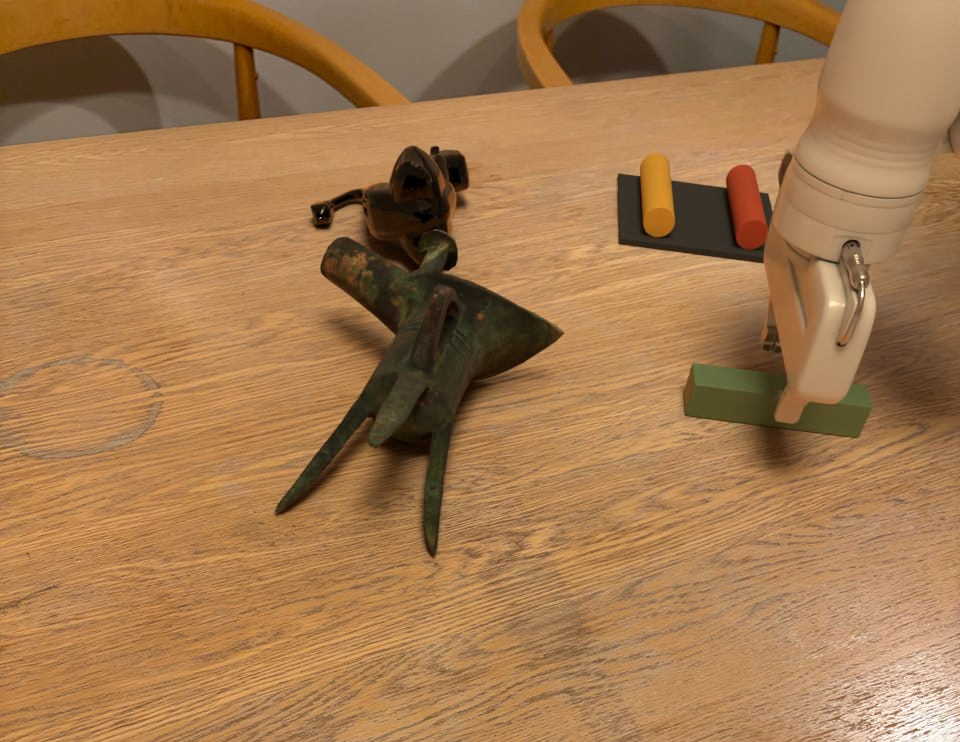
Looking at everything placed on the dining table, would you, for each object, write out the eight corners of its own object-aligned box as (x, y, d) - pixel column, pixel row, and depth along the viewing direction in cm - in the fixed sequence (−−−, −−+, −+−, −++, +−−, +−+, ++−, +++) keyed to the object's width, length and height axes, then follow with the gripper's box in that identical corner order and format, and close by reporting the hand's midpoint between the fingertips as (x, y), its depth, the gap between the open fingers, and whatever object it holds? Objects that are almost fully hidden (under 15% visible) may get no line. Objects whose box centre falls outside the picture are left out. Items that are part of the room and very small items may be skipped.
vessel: (485, 581, 68) (572, 350, 82) (466, 450, 59) (568, 215, 73) (231, 541, 73) (355, 329, 87) (177, 414, 64) (325, 200, 78)
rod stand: (766, 198, 108) (777, 164, 105) (782, 265, 99) (794, 230, 96) (617, 178, 108) (623, 143, 105) (618, 243, 98) (626, 207, 96)
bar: (852, 415, 83) (866, 384, 81) (858, 438, 81) (873, 407, 79) (683, 393, 83) (692, 362, 81) (685, 416, 81) (694, 384, 79)
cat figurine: (308, 292, 92) (354, 232, 106) (457, 271, 89) (484, 213, 103) (276, 176, 86) (329, 129, 100) (434, 150, 83) (467, 106, 97)
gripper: (919, 296, 63) (836, 471, 73) (864, 153, 76) (800, 317, 87) (819, 281, 63) (749, 458, 73) (781, 140, 76) (727, 307, 86)
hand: (776, 381), depth 80 cm, fingers open, 8 cm apart
